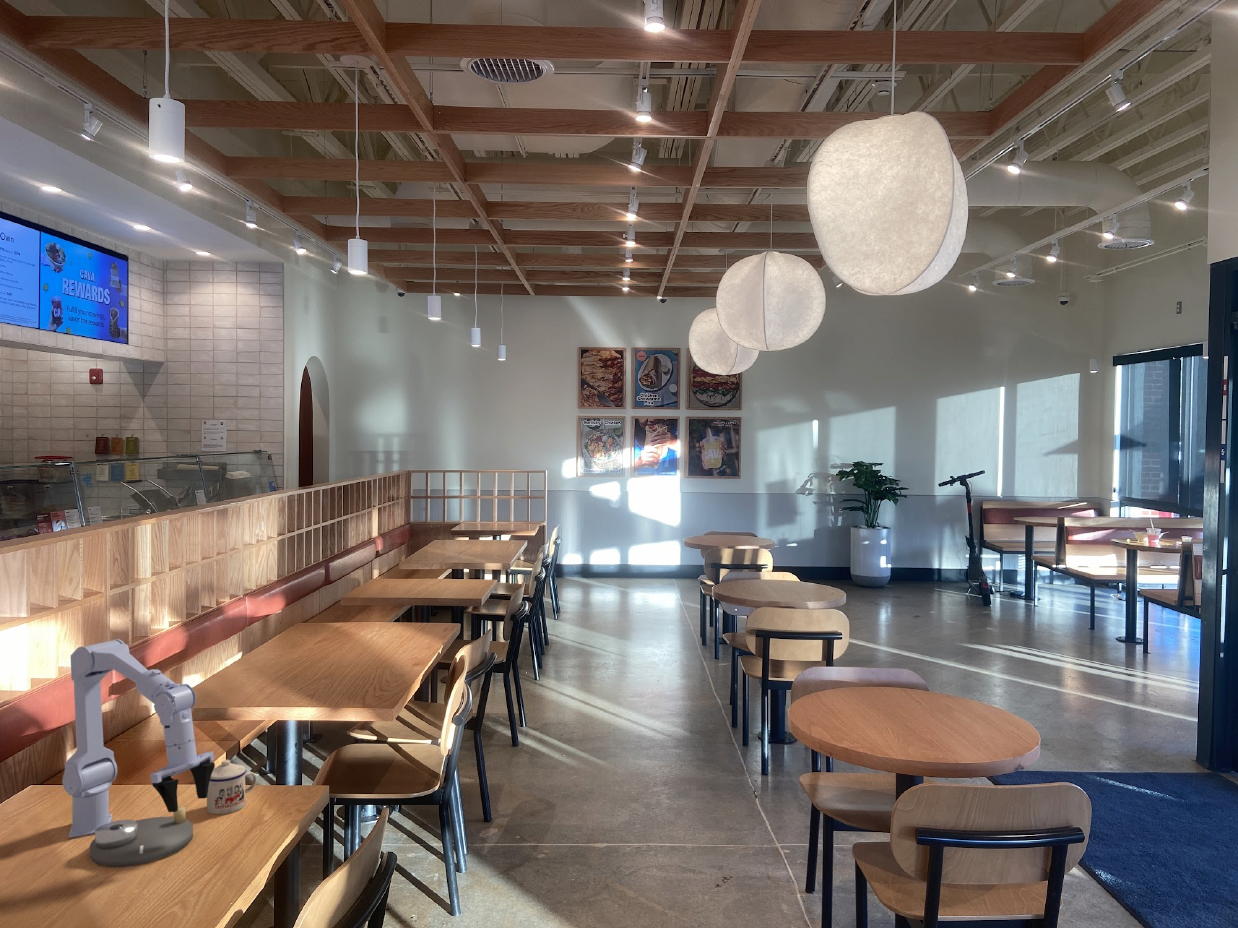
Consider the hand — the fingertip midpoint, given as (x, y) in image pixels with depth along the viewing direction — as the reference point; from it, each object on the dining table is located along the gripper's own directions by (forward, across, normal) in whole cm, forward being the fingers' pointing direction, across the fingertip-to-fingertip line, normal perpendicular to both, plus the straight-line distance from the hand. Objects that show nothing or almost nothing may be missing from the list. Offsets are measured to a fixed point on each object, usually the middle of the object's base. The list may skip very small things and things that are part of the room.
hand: (188, 804), depth 183 cm
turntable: (+8, -2, +14) cm, 16 cm away
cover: (+6, -6, +16) cm, 18 cm away
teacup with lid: (+9, +22, +12) cm, 27 cm away
